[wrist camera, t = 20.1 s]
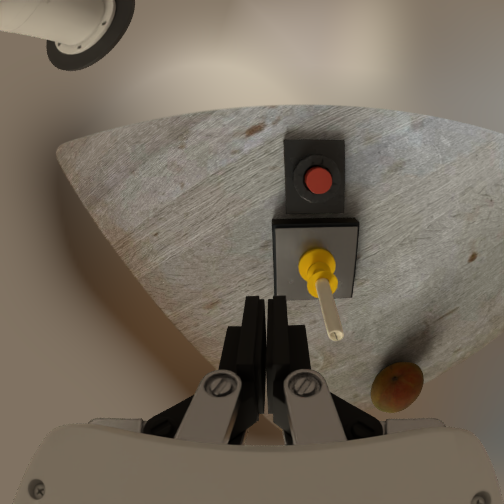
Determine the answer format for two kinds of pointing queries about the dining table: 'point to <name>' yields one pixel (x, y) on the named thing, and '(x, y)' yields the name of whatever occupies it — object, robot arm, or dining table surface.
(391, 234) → the dining table surface
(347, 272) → the scale
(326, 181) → the button
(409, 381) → the fruit
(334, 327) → the candle
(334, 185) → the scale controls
